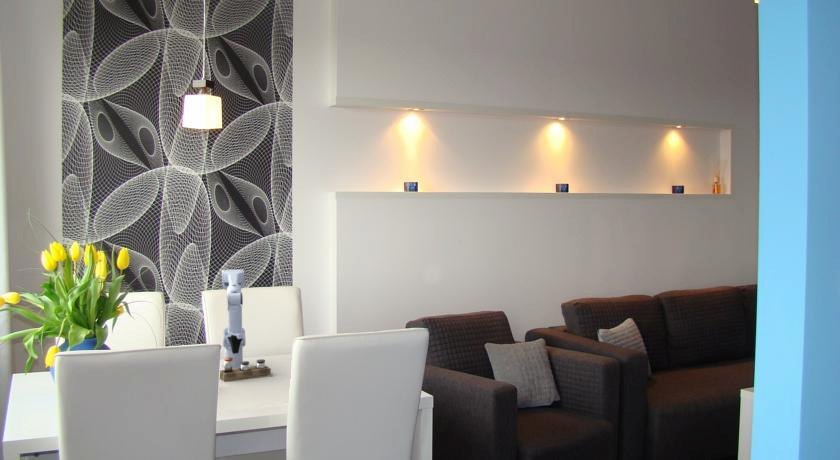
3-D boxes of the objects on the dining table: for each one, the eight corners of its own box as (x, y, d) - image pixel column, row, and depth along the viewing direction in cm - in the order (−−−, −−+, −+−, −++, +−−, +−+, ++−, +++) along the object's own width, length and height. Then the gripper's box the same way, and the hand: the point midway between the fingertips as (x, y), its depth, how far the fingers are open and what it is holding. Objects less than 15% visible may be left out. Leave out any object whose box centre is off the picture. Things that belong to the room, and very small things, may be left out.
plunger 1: (239, 374, 310) (239, 361, 310) (247, 373, 312) (247, 360, 312) (242, 376, 307) (241, 363, 307) (250, 375, 309) (250, 362, 309)
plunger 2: (255, 372, 314) (255, 360, 313) (263, 371, 315) (263, 359, 315) (258, 374, 311) (258, 361, 310) (266, 373, 312) (266, 360, 312)
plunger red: (223, 371, 306) (222, 358, 306) (231, 370, 308) (231, 357, 308) (225, 373, 303) (225, 359, 303) (234, 371, 305) (233, 358, 305)
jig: (218, 377, 308) (218, 370, 308) (264, 371, 318) (264, 365, 318) (224, 381, 301) (224, 374, 301) (270, 375, 311) (270, 368, 311)
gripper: (249, 322, 302) (250, 355, 303) (239, 318, 315) (239, 349, 315) (233, 324, 299) (233, 357, 299) (222, 319, 311) (223, 351, 312)
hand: (235, 353), depth 307 cm, fingers closed
